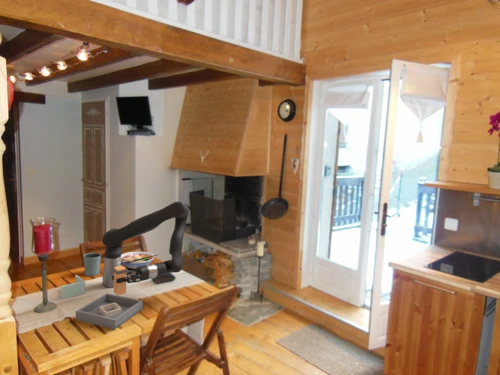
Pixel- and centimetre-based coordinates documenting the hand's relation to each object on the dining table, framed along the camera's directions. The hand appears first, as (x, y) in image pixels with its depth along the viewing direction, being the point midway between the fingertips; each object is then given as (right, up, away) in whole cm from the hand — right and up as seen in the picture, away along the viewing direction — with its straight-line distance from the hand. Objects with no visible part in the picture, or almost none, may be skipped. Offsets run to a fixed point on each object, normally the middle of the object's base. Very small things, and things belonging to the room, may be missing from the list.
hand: (114, 279), depth 179 cm
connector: (+2, -7, +3) cm, 8 cm away
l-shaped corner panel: (-33, -14, +23) cm, 43 cm away
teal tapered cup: (-33, -9, +52) cm, 62 cm away
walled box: (-3, -18, +2) cm, 18 cm away
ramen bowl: (-10, -9, +66) cm, 68 cm away
